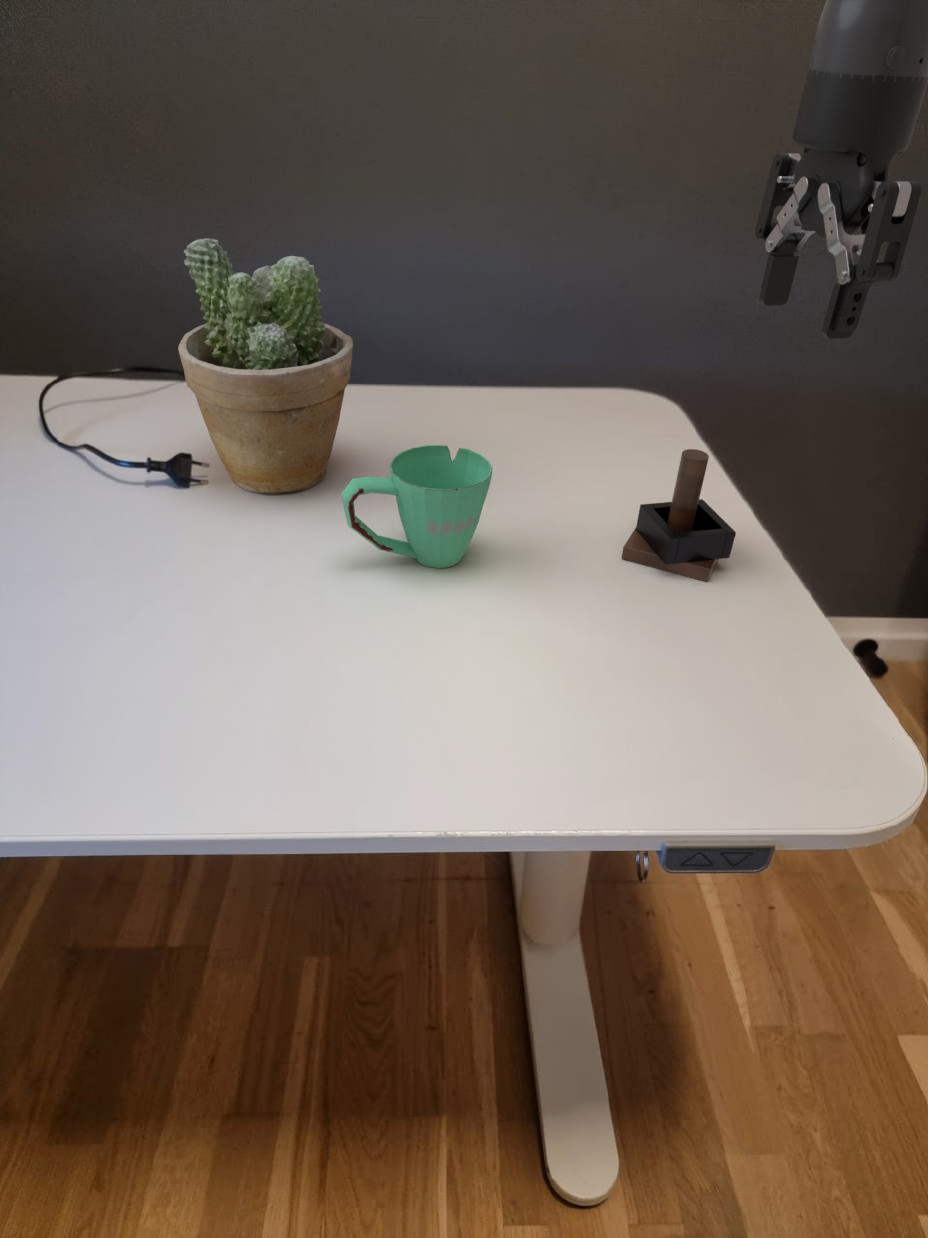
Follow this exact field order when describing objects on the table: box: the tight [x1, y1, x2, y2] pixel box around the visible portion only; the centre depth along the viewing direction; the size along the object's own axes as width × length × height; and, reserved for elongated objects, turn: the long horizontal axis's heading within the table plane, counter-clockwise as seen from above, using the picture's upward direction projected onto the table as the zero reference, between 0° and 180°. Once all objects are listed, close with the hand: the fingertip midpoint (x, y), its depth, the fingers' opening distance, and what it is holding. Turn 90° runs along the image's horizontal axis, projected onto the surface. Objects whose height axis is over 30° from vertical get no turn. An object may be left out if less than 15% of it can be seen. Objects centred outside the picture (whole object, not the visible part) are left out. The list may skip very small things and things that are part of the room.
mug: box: [340, 444, 493, 569], centre depth 85 cm, size 15×10×10 cm
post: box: [621, 448, 719, 583], centre depth 88 cm, size 9×9×11 cm
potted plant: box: [177, 238, 354, 495], centre depth 94 cm, size 18×19×25 cm
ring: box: [635, 498, 737, 565], centre depth 89 cm, size 7×7×3 cm
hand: (802, 319), depth 66 cm, fingers open, 8 cm apart
